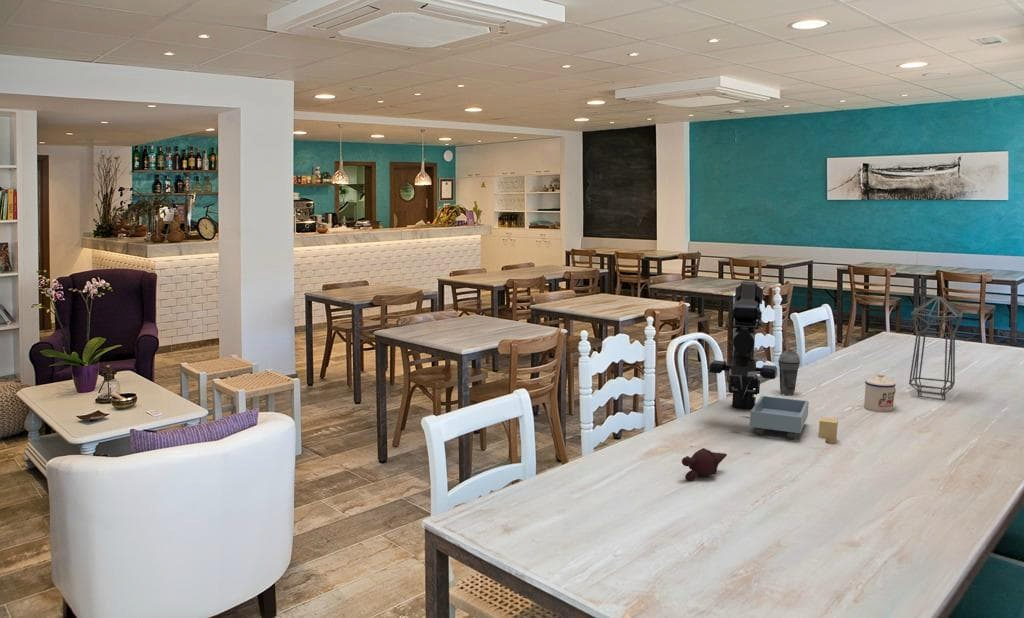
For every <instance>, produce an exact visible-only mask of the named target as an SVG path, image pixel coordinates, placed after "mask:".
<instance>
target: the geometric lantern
mask: <svg viewBox="0 0 1024 618" xmlns="http://www.w3.org/2000/svg"><path fill="white" fill-rule="evenodd" d="M933 302H934V304H933V306H932V307H931V309H926V307H928V306H929V305H930V304H932V303H933ZM941 305H942V308H943V310H944V311H940V310H941V309H940V308H941V307H940V306H941ZM935 307H936V308H935ZM946 308H947V309H948V310H947V309H946ZM934 309H935V310H934ZM919 312H923V313H919ZM932 313H935V315H932ZM948 313H950V314H949V315H947V314H948ZM941 314H944V316H942V315H941ZM963 314H964V310H962V309H960V308H959V307H957V306H956V305H954V304H953V303H951V302H949V301H948V300H947V299H945V298H944V297H943V296H934V297H932V298H930V299H928V300H926V301H925V302H923V303H921V304H920V305H918V306H916V307H914V308H913V311H912V312H911V313H910V315H911V317H912V320H913V322H914V323H913V324H914V328H915V330H914V331H915V341H914V342H915V343H914V348H913V355H912V360H911V366H910V367H911V368H910V374H909V381H908V385H910V386H911V387H912V388H914V389H915V390H916V391H917V394H916V395H917V397H920V398H925V399H932V400H933V399H934V400H940V401H945V400H946V394H947V393H948V392H949V391H950V390H952V389H953V388H954V386H955V381H956V368H955V367H956V334H957V332H958V330H959V327H960V325H961V324H962V320H963ZM940 315H941V316H940ZM922 316H924V317H927V320H925V319H924V318H923V317H922ZM918 318H919V319H920V320H921V321H923V323H926V324H927V326H926V327H925V328H924V329H923V330H922V327H921V325H920V322H919V320H918ZM930 318H932V321H931V320H930ZM956 318H958V320H957V322H956V326H955V329H954V331H953V332H952V330H951V328H950V327H949V325H948V323H947V322H949V321H951V320H952V321H953V320H954V319H956ZM935 320H937V323H934V321H935ZM940 321H941V322H940ZM944 323H945V325H946V327H947V329H948V330H949V332H946V331H945V330H944V329H943V327H942V324H944ZM917 324H918V326H919V329H920V330H918V327H917ZM931 326H939V328H940V330H941V332H940V331H939V332H938V331H931V330H929V328H930V327H931ZM928 330H929V331H928ZM926 333H932V334H943V335H944V337H943V336H932V335H926ZM922 334H923V335H922ZM947 335H950V336H949V337H948V336H947ZM921 337H923V339H922V347H921V348H922V350H921V356H920V346H921ZM926 338H936V339H945V348H944V349H945V351H944V379H939V378H938V379H937V378H929V377H928V378H926V377H921V375H922V367H923V360H924V351H925V342H926ZM948 340H949V348H948ZM948 349H949V350H948ZM919 357H920V359H919ZM919 360H920V364H919ZM947 361H948V362H947ZM918 370H919V371H918ZM918 373H919V374H918ZM949 378H950V379H949ZM921 380H924V381H925V380H926V381H934V382H943V386H942V387H939V386H931V385H926V384H925V385H923V384H922V382H921ZM913 381H914V383H913ZM918 383H919V384H918ZM948 383H950V384H949V385H948V386H947V384H948ZM922 388H923V389H924V388H925V389H937V390H940V392H934V391H933V392H932V391H925V390H922ZM923 393H925V394H931V395H939V396H941V397H933V396H924V395H922V394H923Z"/></svg>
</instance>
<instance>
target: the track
mask: <svg viewBox="0 0 1024 618" xmlns="http://www.w3.org/2000/svg"><path fill="white" fill-rule="evenodd" d="M735 417H736V418H742V419H750V416H744V415H738V414H737V415H735ZM804 426H806V424H804ZM724 432H725V433H733V434H740V435H747V436H756V437H761V438H762V437H763V438H769V439H777V440H784V441H792V442H799V439H796V438H795V439H794V440H790V439H789V438H788V437H781V436H773V435H767V434H766V435H765V434H761V435H756V434H755V433H752V432H744V431H735V430H728V429H725V430H724Z"/></svg>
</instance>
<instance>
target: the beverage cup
mask: <svg viewBox="0 0 1024 618" xmlns="http://www.w3.org/2000/svg"><path fill="white" fill-rule="evenodd" d="M785 338H786V339H785V340H786V350H783V351H782V352H781V353H780V354H779V357H778V360H777V361H778V368H779V391H780V392H779V393H781V394H780V395H782V394H784V395H783V396H788V395H791V396H794V395H795V390H796V385H797V384H796V383H797V377H798V372H799V371H798V370H799V367H800V364H801V361H800V356H799V354H798V353H797V352H796V351H795V350H791V349H789V338H788V337H785Z"/></svg>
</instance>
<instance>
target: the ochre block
mask: <svg viewBox="0 0 1024 618" xmlns="http://www.w3.org/2000/svg"><path fill="white" fill-rule="evenodd" d="M838 422H839V419H838V418H833V417H832V418H831V417H825V416H820V418H819V425H818V427H819V428H818V438H824V439H825V441H824V442H825V443H827V442H829V444H834V443H835V444H836V443H837V437H838V436H837V435H838V424H839V423H838Z"/></svg>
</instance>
